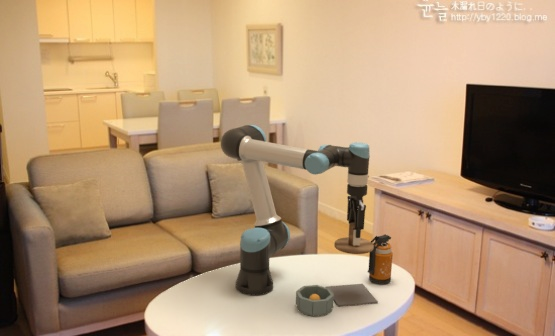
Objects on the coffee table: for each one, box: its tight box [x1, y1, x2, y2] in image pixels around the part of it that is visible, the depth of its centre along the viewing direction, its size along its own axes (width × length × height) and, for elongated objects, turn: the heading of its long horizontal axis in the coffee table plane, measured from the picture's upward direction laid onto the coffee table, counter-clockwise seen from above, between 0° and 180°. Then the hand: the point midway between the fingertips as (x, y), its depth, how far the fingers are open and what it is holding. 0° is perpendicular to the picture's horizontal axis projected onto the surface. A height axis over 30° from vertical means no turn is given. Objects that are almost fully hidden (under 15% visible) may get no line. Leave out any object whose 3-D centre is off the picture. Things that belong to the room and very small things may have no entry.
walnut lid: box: [333, 223, 374, 255], centre depth 216 cm, size 15×15×9 cm
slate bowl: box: [295, 284, 335, 317], centre depth 211 cm, size 13×13×6 cm
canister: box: [367, 234, 394, 285], centre depth 233 cm, size 9×11×20 cm
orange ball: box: [309, 294, 321, 300], centre depth 210 cm, size 4×4×4 cm
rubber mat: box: [325, 283, 379, 308], centre depth 221 cm, size 16×16×1 cm
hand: (354, 242), depth 216 cm, fingers closed on walnut lid, 4 cm apart
